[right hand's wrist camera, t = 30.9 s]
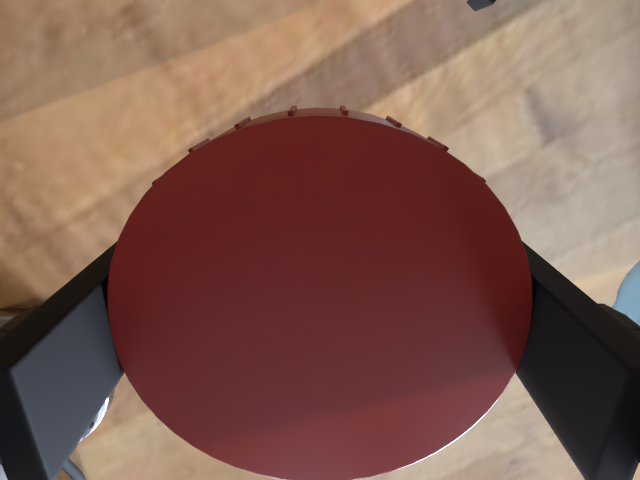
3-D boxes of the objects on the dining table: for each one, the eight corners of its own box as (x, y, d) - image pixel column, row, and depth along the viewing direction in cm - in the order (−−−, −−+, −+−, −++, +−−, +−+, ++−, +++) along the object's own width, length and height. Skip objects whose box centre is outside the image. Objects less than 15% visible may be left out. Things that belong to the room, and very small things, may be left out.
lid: (298, 472, 15) (295, 532, 13) (62, 268, 12) (12, 306, 10) (565, 315, 12) (610, 359, 10) (354, 7, 9) (362, -11, 7)
